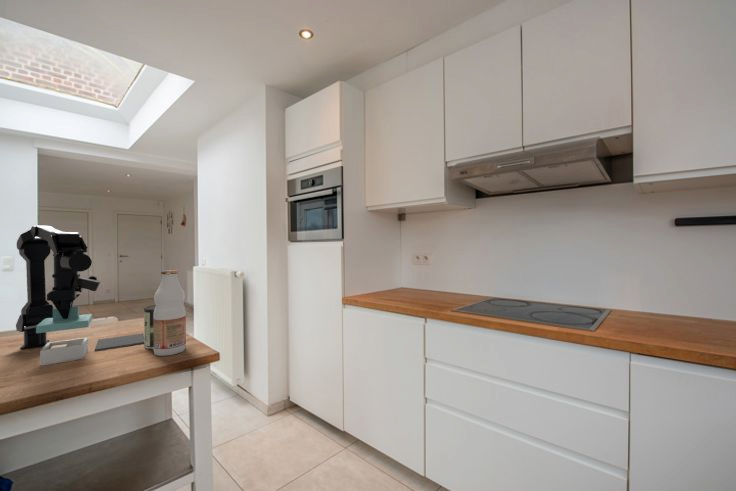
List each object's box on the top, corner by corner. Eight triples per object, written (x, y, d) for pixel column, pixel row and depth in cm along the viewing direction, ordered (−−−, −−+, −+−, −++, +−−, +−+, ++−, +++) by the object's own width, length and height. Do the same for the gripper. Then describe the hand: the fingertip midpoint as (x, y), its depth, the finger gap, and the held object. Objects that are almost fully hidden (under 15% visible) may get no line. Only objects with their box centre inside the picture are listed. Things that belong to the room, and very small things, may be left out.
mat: (98, 341, 120) (98, 339, 120) (143, 334, 128) (143, 333, 128) (94, 351, 109) (94, 349, 109) (144, 343, 117) (144, 341, 117)
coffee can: (183, 341, 120) (183, 304, 120) (161, 350, 110) (160, 310, 110) (161, 339, 122) (160, 303, 122) (136, 348, 112) (136, 308, 112)
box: (47, 356, 104) (47, 342, 104) (87, 350, 110) (87, 337, 110) (40, 365, 96) (40, 351, 96) (84, 358, 102) (84, 344, 102)
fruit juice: (147, 356, 104) (146, 271, 103) (164, 347, 113) (163, 269, 113) (176, 356, 104) (176, 271, 104) (191, 346, 113) (190, 269, 113)
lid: (45, 325, 104) (45, 306, 104) (92, 319, 111) (92, 302, 111) (36, 333, 95) (35, 312, 95) (88, 327, 102) (88, 308, 102)
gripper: (95, 271, 100) (95, 319, 100) (100, 267, 115) (101, 309, 115) (46, 273, 94) (46, 325, 94) (58, 268, 109) (59, 313, 109)
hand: (66, 317), depth 103 cm, fingers closed on lid, 2 cm apart
